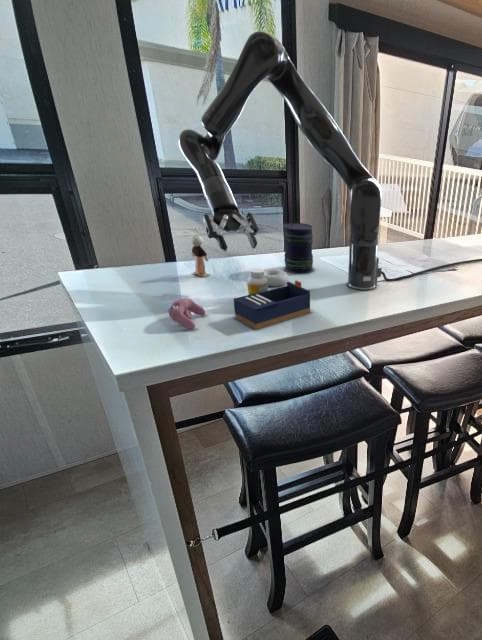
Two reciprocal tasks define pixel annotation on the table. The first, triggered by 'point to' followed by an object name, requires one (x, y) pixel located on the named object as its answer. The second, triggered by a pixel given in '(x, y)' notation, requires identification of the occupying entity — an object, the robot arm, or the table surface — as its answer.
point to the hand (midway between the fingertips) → (240, 248)
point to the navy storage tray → (272, 305)
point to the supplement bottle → (256, 281)
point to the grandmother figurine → (199, 256)
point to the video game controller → (185, 312)
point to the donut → (275, 277)
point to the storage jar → (298, 247)
